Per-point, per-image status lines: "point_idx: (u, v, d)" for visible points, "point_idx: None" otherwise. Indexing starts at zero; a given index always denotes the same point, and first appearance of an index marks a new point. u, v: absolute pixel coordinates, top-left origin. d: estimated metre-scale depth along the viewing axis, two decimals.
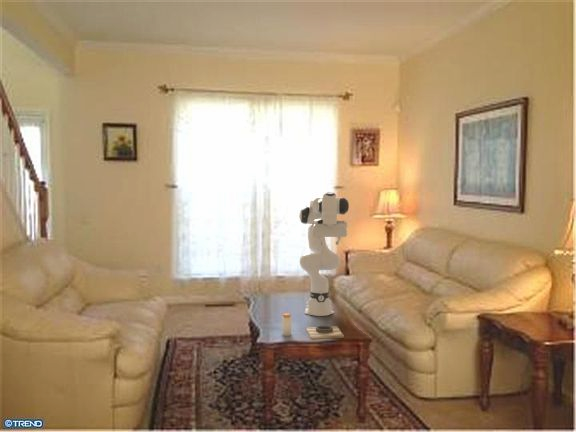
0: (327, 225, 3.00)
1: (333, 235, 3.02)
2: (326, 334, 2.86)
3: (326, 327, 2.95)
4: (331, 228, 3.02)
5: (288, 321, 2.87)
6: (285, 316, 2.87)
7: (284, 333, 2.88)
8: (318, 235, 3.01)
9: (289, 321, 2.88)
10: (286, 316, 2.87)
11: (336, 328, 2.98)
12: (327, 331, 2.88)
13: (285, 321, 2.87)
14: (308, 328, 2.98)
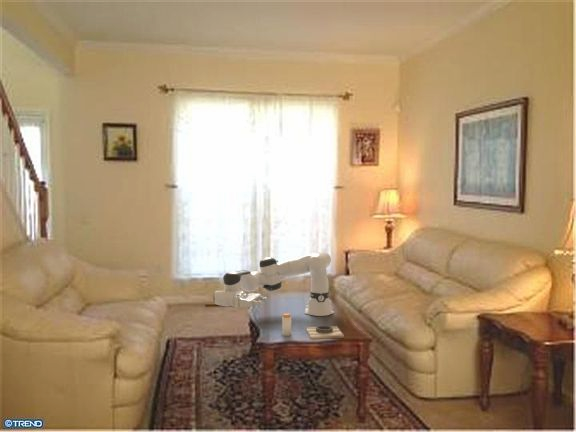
0: (244, 295, 2.93)
1: (256, 296, 2.95)
2: (326, 334, 2.86)
3: (326, 327, 2.95)
4: (248, 296, 2.95)
5: (288, 321, 2.87)
6: (285, 316, 2.87)
7: (284, 333, 2.88)
8: (251, 299, 2.87)
9: (289, 321, 2.88)
10: (286, 316, 2.87)
11: (336, 328, 2.98)
12: (327, 331, 2.88)
13: (285, 321, 2.87)
14: (308, 328, 2.98)
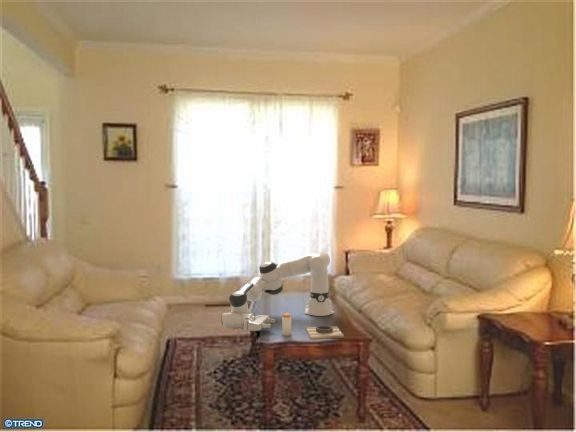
0: (252, 318, 2.92)
1: (264, 318, 2.94)
2: (326, 334, 2.86)
3: (326, 327, 2.95)
4: (256, 319, 2.94)
5: (288, 321, 2.87)
6: (285, 316, 2.87)
7: (284, 333, 2.88)
8: (259, 322, 2.86)
9: (289, 321, 2.88)
10: (286, 316, 2.87)
11: (336, 328, 2.98)
12: (327, 331, 2.88)
13: (285, 321, 2.87)
14: (308, 328, 2.98)
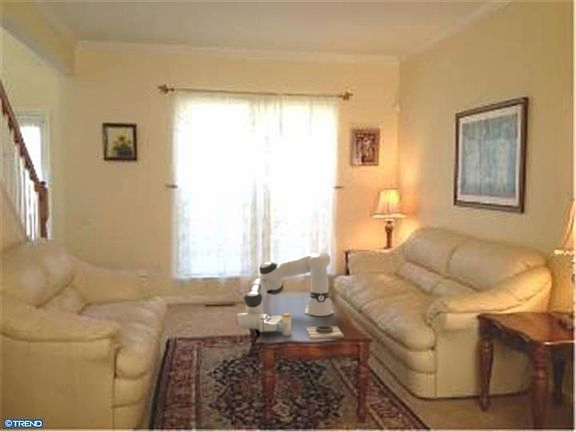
0: (267, 318, 2.90)
1: (279, 318, 2.93)
2: (326, 334, 2.86)
3: (326, 327, 2.95)
4: (272, 319, 2.93)
5: (288, 321, 2.87)
6: (285, 316, 2.87)
7: (284, 333, 2.88)
8: (275, 322, 2.84)
9: (289, 321, 2.88)
10: (286, 316, 2.87)
11: (336, 328, 2.98)
12: (327, 331, 2.88)
13: (285, 321, 2.87)
14: (308, 328, 2.98)
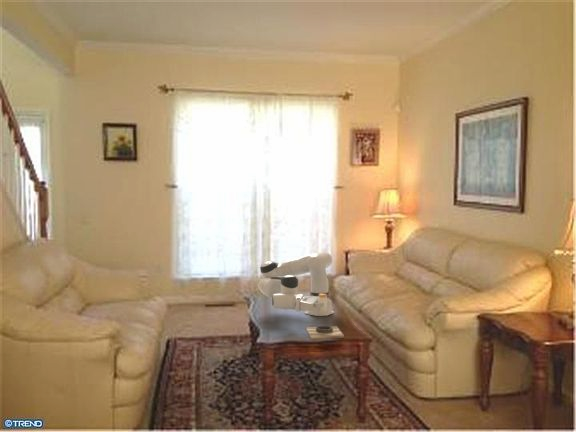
0: (303, 298, 2.92)
1: (315, 299, 2.94)
2: (326, 334, 2.86)
3: (326, 327, 2.95)
4: (307, 299, 2.94)
5: (324, 301, 2.89)
6: (321, 296, 2.89)
7: (320, 313, 2.89)
8: (312, 302, 2.85)
9: (325, 301, 2.89)
10: (322, 296, 2.88)
11: (336, 328, 2.98)
12: (327, 331, 2.88)
13: (321, 301, 2.88)
14: (308, 328, 2.98)
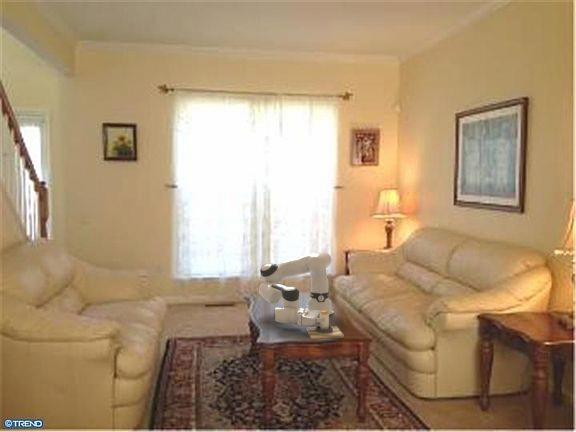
0: (305, 312, 2.93)
1: (316, 313, 2.95)
2: (326, 334, 2.86)
3: None
4: (309, 313, 2.95)
5: (326, 318, 2.89)
6: (323, 313, 2.89)
7: None
8: (313, 316, 2.86)
9: (327, 318, 2.90)
10: (324, 313, 2.89)
11: (336, 328, 2.98)
12: (327, 331, 2.88)
13: None
14: (308, 328, 2.98)
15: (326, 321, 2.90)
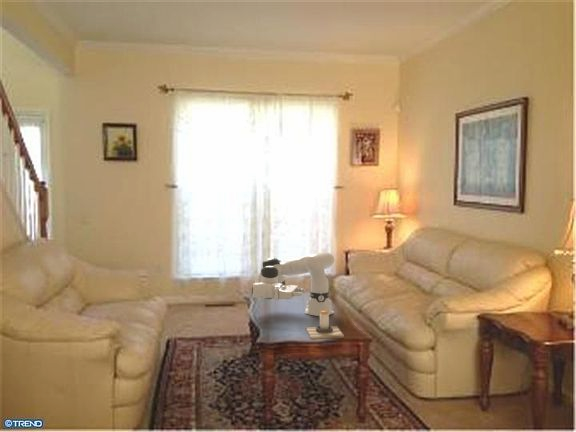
0: (282, 287, 2.94)
1: (294, 288, 2.96)
2: (326, 334, 2.86)
3: None
4: (287, 288, 2.96)
5: (326, 318, 2.89)
6: (323, 313, 2.89)
7: None
8: (290, 291, 2.88)
9: (327, 318, 2.90)
10: (324, 313, 2.89)
11: (336, 328, 2.98)
12: (327, 331, 2.88)
13: (323, 318, 2.89)
14: (308, 328, 2.98)
15: (326, 321, 2.90)
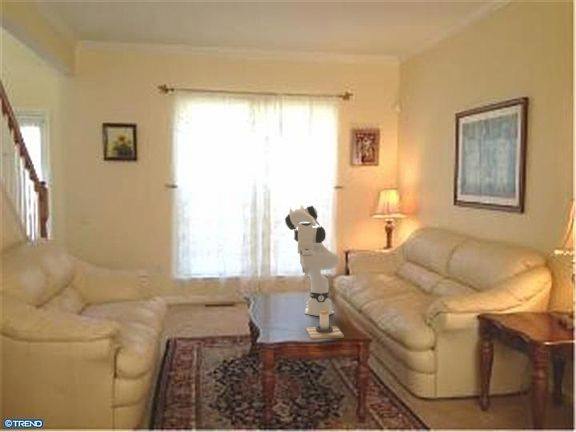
0: None
1: None
2: (326, 334, 2.86)
3: None
4: None
5: (326, 318, 2.89)
6: (323, 313, 2.89)
7: None
8: None
9: (327, 318, 2.90)
10: (324, 313, 2.89)
11: (336, 328, 2.98)
12: (327, 331, 2.88)
13: (323, 318, 2.89)
14: (308, 328, 2.98)
15: (326, 321, 2.90)
